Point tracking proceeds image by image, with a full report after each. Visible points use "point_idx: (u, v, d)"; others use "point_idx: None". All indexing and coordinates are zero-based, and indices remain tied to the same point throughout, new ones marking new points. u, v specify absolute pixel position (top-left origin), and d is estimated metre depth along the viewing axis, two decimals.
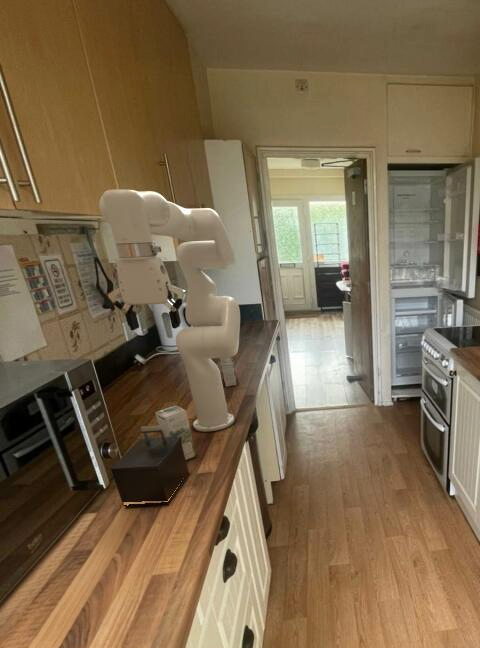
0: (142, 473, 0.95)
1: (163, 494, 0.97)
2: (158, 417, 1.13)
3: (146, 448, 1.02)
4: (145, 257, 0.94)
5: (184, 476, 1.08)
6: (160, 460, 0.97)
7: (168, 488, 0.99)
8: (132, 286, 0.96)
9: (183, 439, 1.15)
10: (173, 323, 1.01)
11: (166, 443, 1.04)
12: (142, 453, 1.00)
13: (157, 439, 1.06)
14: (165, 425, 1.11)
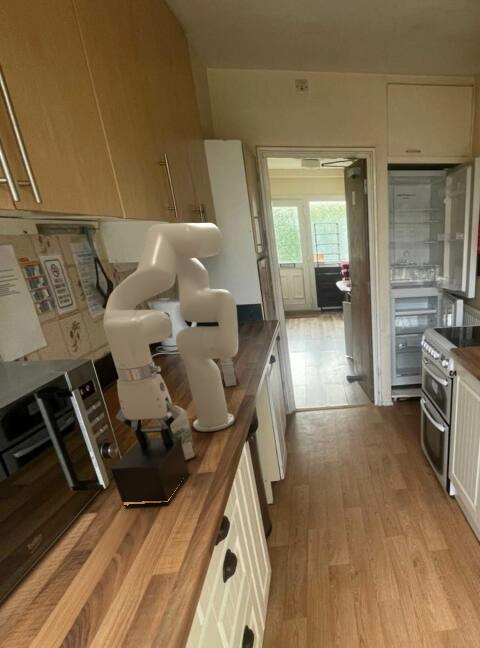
0: (142, 473, 0.95)
1: (163, 494, 0.97)
2: None
3: (146, 448, 1.02)
4: (145, 379, 0.96)
5: (184, 476, 1.08)
6: (160, 460, 0.97)
7: (168, 488, 0.99)
8: (132, 404, 0.98)
9: (183, 439, 1.15)
10: (165, 439, 1.03)
11: None
12: (142, 453, 1.00)
13: (157, 439, 1.06)
14: None
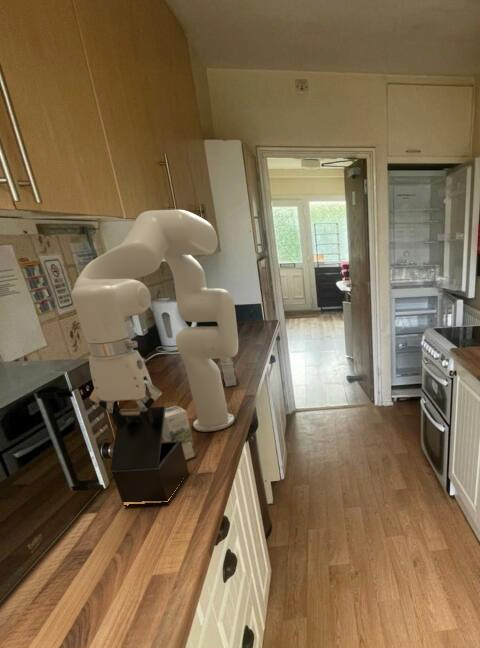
0: (142, 473, 0.95)
1: (163, 494, 0.97)
2: None
3: (133, 430, 0.97)
4: (119, 355, 0.86)
5: (184, 476, 1.08)
6: (156, 456, 0.95)
7: (168, 488, 0.99)
8: (106, 384, 0.89)
9: (183, 439, 1.15)
10: (145, 423, 0.94)
11: None
12: (132, 440, 0.96)
13: None
14: (165, 425, 1.11)
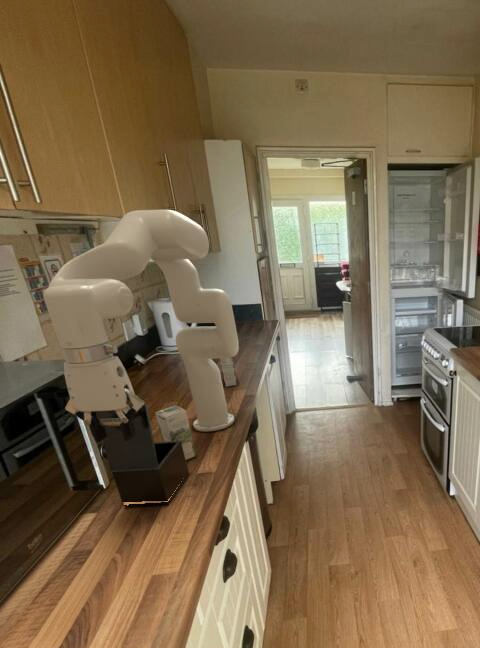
0: (142, 473, 0.95)
1: (163, 494, 0.97)
2: (158, 417, 1.13)
3: (120, 431, 0.92)
4: (97, 361, 0.79)
5: (184, 476, 1.08)
6: (153, 457, 0.93)
7: (168, 488, 0.99)
8: (83, 393, 0.81)
9: (183, 439, 1.15)
10: (126, 435, 0.86)
11: (137, 421, 0.91)
12: (122, 441, 0.92)
13: None
14: (165, 425, 1.11)
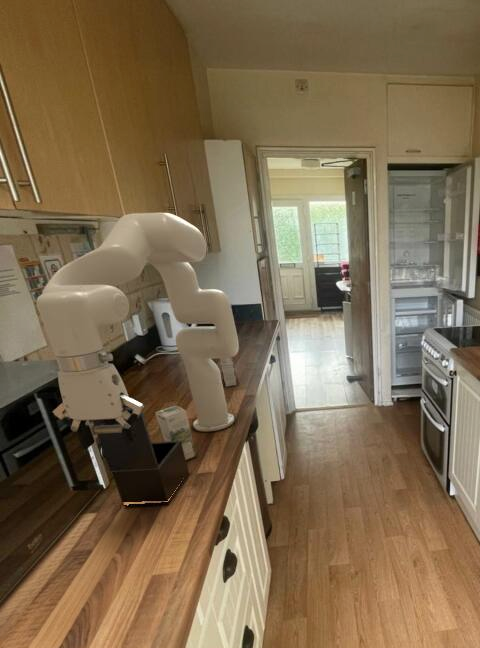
0: (142, 473, 0.95)
1: (163, 494, 0.97)
2: (158, 417, 1.13)
3: (116, 434, 0.90)
4: (92, 370, 0.77)
5: (184, 476, 1.08)
6: (152, 459, 0.93)
7: (168, 488, 0.99)
8: (78, 401, 0.79)
9: (183, 439, 1.15)
10: (127, 441, 0.84)
11: None
12: (120, 444, 0.91)
13: None
14: (165, 425, 1.11)
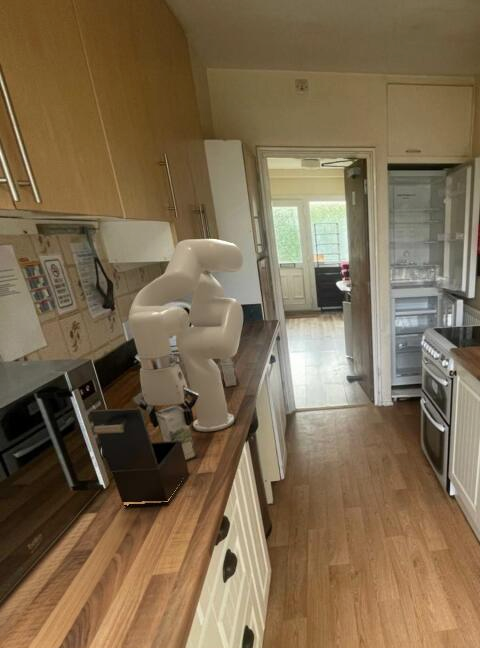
0: (142, 473, 0.95)
1: (163, 494, 0.97)
2: (158, 417, 1.13)
3: (116, 434, 0.90)
4: (165, 368, 1.06)
5: (184, 476, 1.08)
6: (152, 459, 0.93)
7: (168, 488, 0.99)
8: (153, 391, 1.08)
9: (183, 439, 1.15)
10: (187, 421, 1.13)
11: (132, 424, 0.89)
12: (120, 444, 0.91)
13: (113, 415, 0.88)
14: (165, 425, 1.11)
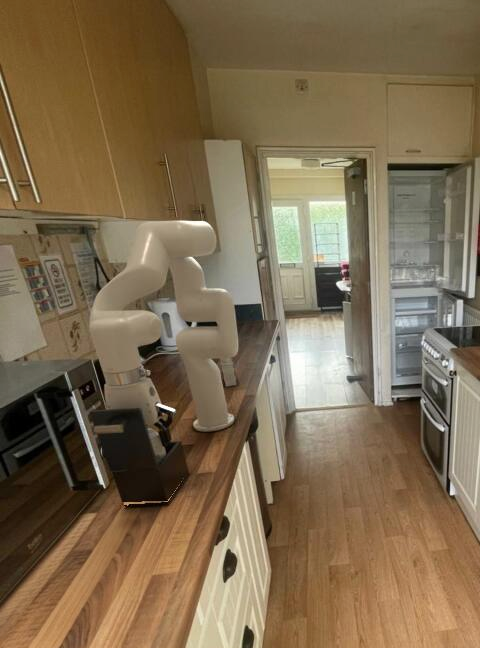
0: (142, 473, 0.95)
1: (163, 494, 0.97)
2: None
3: (116, 434, 0.90)
4: (133, 383, 0.91)
5: (184, 476, 1.08)
6: (152, 459, 0.93)
7: (168, 488, 0.99)
8: None
9: None
10: (163, 442, 0.98)
11: (132, 424, 0.89)
12: (120, 444, 0.91)
13: (113, 415, 0.88)
14: None
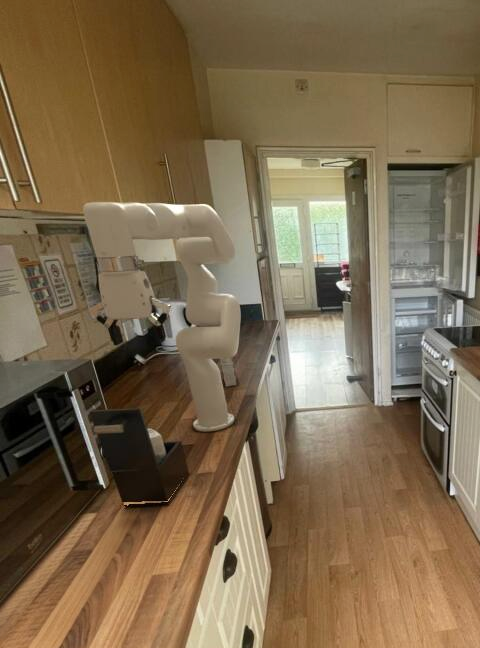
0: (142, 473, 0.95)
1: (163, 494, 0.97)
2: None
3: (116, 434, 0.90)
4: (127, 271, 0.91)
5: (184, 476, 1.08)
6: (152, 459, 0.93)
7: (168, 488, 0.99)
8: (114, 301, 0.93)
9: None
10: (158, 338, 0.98)
11: (132, 424, 0.89)
12: (120, 444, 0.91)
13: (113, 415, 0.88)
14: None
